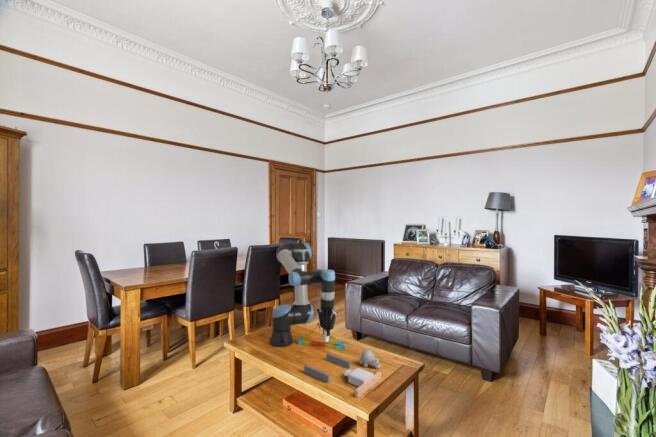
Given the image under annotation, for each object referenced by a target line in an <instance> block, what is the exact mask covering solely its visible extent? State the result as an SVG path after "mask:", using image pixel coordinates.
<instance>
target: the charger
mask: <svg viewBox="0 0 656 437" xmlns="http://www.w3.org/2000/svg"><path fill="white" fill-rule="evenodd" d="M342 373H344V374H343V375H344V377H347V379H348V380H347V381H348V383H349V384H351V385H354V386H355V387H357V388H358V387H360V386H361V385H362V384H363V383H365V382H366V381H367V380H369V379H370V378H371V377H372V376H374V375H375V374H374V373H373V372H370V371H368V370H364V369H362V368H360V367H358V368H354V369H353V370H352V369H347V370H346V369H345V370H343V371H342Z"/></svg>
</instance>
